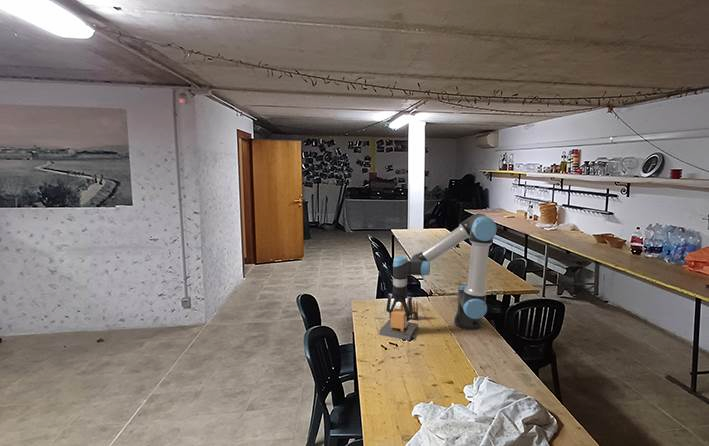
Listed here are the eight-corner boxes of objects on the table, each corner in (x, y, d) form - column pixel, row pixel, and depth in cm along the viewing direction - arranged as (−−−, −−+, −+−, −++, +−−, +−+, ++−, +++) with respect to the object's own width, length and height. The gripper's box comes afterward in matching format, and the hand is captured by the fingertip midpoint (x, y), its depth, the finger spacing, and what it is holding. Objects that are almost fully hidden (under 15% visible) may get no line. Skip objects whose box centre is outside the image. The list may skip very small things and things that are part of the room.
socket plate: (418, 327, 221) (418, 323, 220) (409, 340, 205) (409, 336, 205) (389, 322, 228) (389, 319, 227) (379, 334, 212) (379, 330, 212)
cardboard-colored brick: (407, 327, 218) (407, 310, 217) (403, 332, 211) (403, 315, 210) (395, 325, 221) (395, 308, 220) (390, 330, 214) (390, 313, 213)
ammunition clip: (418, 319, 233) (418, 300, 231) (417, 320, 231) (418, 301, 229) (400, 317, 236) (400, 298, 234) (399, 318, 235) (400, 299, 233)
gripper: (419, 285, 212) (419, 325, 215) (384, 281, 220) (384, 319, 223) (416, 289, 205) (415, 331, 209) (380, 284, 213) (379, 324, 217)
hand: (399, 325), depth 216 cm, fingers closed on cardboard-colored brick, 7 cm apart
